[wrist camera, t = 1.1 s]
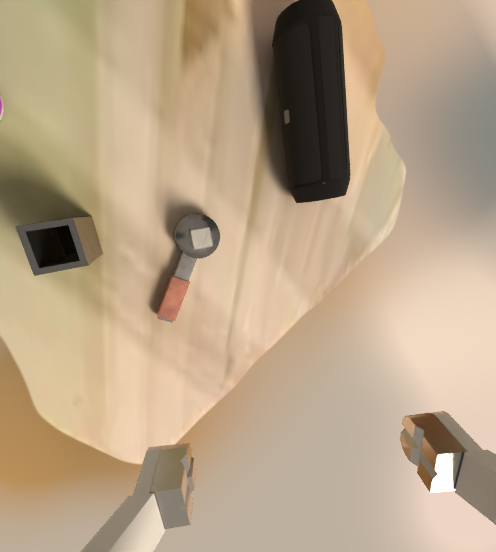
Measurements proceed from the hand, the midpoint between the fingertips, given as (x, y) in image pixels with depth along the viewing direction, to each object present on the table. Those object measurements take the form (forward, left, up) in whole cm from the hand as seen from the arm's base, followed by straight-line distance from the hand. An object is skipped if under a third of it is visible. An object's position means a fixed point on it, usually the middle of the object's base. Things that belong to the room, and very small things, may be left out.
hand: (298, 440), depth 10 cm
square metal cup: (-16, -2, -39) cm, 42 cm away
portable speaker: (+9, +29, -39) cm, 50 cm away
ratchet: (0, -1, -39) cm, 39 cm away
